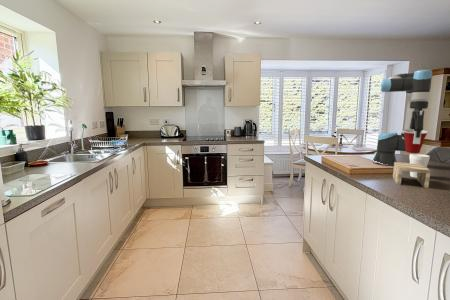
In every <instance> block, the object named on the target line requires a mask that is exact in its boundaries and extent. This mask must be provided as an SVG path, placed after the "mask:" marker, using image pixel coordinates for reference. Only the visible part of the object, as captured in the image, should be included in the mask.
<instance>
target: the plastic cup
mask: <svg viewBox="0 0 450 300" xmlns="http://www.w3.org/2000/svg"><path fill="white" fill-rule="evenodd" d="M402 131H403V132H404V136H405V146H406V151H405V152H406V153H409V154H420V152H421V149H422V147H423V145H424V144H423V143H424V142H425V138H426V136H427V135H428V133H429V131H428V130H424V129H423V130H422V132H421V139H420V144H413V140H414V132H415V131H414V130H413V129H408V130H402Z"/></svg>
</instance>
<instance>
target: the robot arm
mask: <svg viewBox="0 0 450 300" xmlns="http://www.w3.org/2000/svg"><path fill="white" fill-rule="evenodd" d="M432 79H433V70H431V69H419V70H415V71H414V72H411V73H410V72H409V73H398V74H395V75H392V76H390V77H389V78H383V79H382V80H381V84H380V92H382V93H392V92H393V93H394V92H395V93H396V92H405V94H406V95H407V96H408V97H407V106H406V112H405V122H404V130H408V129H413V130H414V131H415V132H414V140H413V144H420V139H421V132H422V130H424V120H425V119H424V118H425V117H424V115H425V109H428V108H429V100H430V95H431V89H432ZM423 109H424V110H423ZM377 137H378V138H377V145H376V146H377V147H376V153H375V155H374V157H373V159H372V161H373V160H374V161H377V162H380V163H383V164H388V165H387V166H389V165H394V162H398V161H397V157H396V151H397V152H406V146H405V136H404V132H403V130H402V131H401V133H400V134H398V132H383V133H380V134H378V136H377Z"/></svg>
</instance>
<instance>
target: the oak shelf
mask: <svg viewBox="0 0 450 300" xmlns="http://www.w3.org/2000/svg"><path fill="white" fill-rule="evenodd" d="M403 172H409V173H410V172H417V178H416V181H418V183H420V185H422V187H423V188H427V189H429V187H430V186H429V185H430V178H431V177H430V176H431V172H432V171H431V170H430V169H429V168H428V167H427V168H426V167H425V166H424V165H422V164H413V163H410V162H398V161H397V162H394V166H393V170H392V178H393V180H394V182H395V183H396V185H400V186H401V185H402V178H403Z"/></svg>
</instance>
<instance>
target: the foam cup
mask: <svg viewBox="0 0 450 300" xmlns="http://www.w3.org/2000/svg"><path fill="white" fill-rule="evenodd" d="M430 158H431V157H430V155H428V154H422V153H409V157H408V159H409V163H413V164H422V165H424V166H425V167H426V168H428V164H429V161H430ZM409 175H410V177H411V178H415V179H417V172H409Z"/></svg>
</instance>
